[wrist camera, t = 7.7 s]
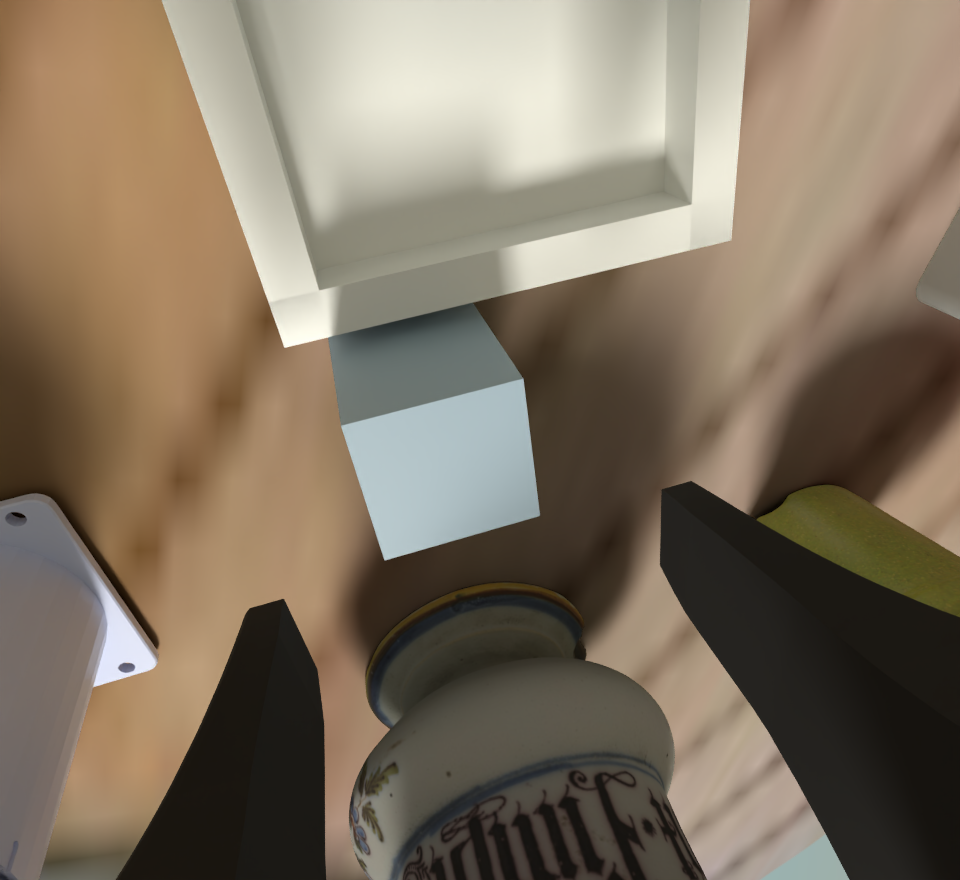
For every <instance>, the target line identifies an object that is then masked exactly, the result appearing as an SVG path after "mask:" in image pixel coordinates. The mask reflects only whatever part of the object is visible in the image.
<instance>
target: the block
mask: <svg viewBox="0 0 960 880" xmlns="http://www.w3.org/2000/svg"><path fill="white" fill-rule="evenodd" d="M328 340H329V347H330V354H331V360H332V367H333V374H334V381H335V388H336V395H337V401H338V408H339V415H340V422H341V427H342V430H343V433H344V436H345V440H346V443H347V446H348V449H349V452H350V455H351V458H352V461H353V464H354V467H355V471H356V474H357V477H358V480H359V483H360V486H361V489H362V492H363V495H364V498H365V501H366V505H367V508H368V511H369V514H370V517H371V520H372V523H373V526H374V529H375V532H376V536H377V539H378V542H379V545H380V548H381V551H382V554H383V557H384V560H389V559H392V558H395V557H399V556H402V555H406V554H409V553H413V552H416V551H420V550H423V549H427V548H430V547H434V546H437V545H441V544H444V543H448V542H451V541H455V540H458V539H462V538H465V537H468V536H472V535H475V534H479V533H482V532H486V531H489V530H493V529H496V528H500V527H503V526H507V525H510V524H514V523H517V522H521V521H524V520H528V519H531V518H535V517H538V516H540V511H539V503H538V494H537V486H536V478H535V470H534V462H533V453H532V445H531V437H530V429H529V420H528V412H527V404H526V396H525V388H524V379H523V377H522V376H521V374H520V373H519V371H518V370H517V368H516V367H515V365H514V364H513V362H512V361H511V359H510V358H509V356H508V355H507V353H506V352H505V350H504V349H503V347H502V346H501V344H500V343H499V341H498V340H497V338H496V337H495V335H494V334H493V332H492V331H491V329H490V328H489V326H488V325H487V323H486V322H485V320H484V319H483V317H482V316H481V314H480V313H479V311H478V310H477V308H476V307H475V305H474V304H473V303H469V304H465V305H460V306H456V307H452V308H448V309H444V310H440V311H435V312H431V313H427V314H423V315H419V316H415V317H410V318H406V319H402V320H398V321H394V322H390V323H386V324H381V325H377V326H373V327H369V328H365V329H361V330H356V331H352V332H348V333H344V334H340V335H336V336H331V337H328Z"/></svg>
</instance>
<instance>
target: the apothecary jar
mask: <svg viewBox="0 0 960 880" xmlns="http://www.w3.org/2000/svg"><path fill="white" fill-rule="evenodd" d="M583 628H584V621H583V618H582V617H581V615H580V613H579V612H578V610H577V609H576V608H575V607H574V606H573V605H572V604H571V603H570V602H569V601H568V600H567V599H565V598H564V597H563V596H562V595H560V594H558V593H556V592H553V591H550V590H548V589H545V588H542V587H539V586H535V585H529V584H523V583H512V582H501V583H489V584H483V585H477V586H472V587H469V588H465V589H461V590H458V591H455V592H452V593H449V594H447V595H444V596H442V597H440V598H438V599H436V600H434V601H432V602H430V603H428V604H426V605H424V606H422V607H421V608H419V609H418V610H416V611H414V612H413V613H412V614H410V615H409V616H408V617H406V618H405V619H404V620H402V621H401V622H400V623H399V624H398V625H396V626H395V627H394V628H393V629H392V630H391V631H390V632H389V633H388V635H387V636H386V637H385V638H384V639H383V640H382V642H381V643H380V644H379V646H378V648H377V649H376V651H375V653H374V655H373V657H372V660H371V662H370V665H369V667H368V670H367V674H366V694H367V699H368V702H369V705H370V707H371V709H372V711H373V713H374V714H375V715H376V717H377V718H378V719H379V720H380V721H381V722H382V723H383V724H384V725H385V726H387V727H388V728H389V729H390V730H389V732H388V733H387V734H386V735H385V736H384V737H383V738H382V740H381V741H380V742H379V743H378V745H377V746H376V747H375V748H374V749H373V751H372V752H371V753H370V755H369V756H368V758H367V759H366V761H365V763H364V765H363V767H362V769H361V771H360V773H359V775H358V777H357V779H356V782H355V785H354V788H353V792H352V796H351V801H350V810H349V826H350V836H351V841H352V845H353V849H354V852H355V855H356V857H357V860H358V862H359V864H360V866H361V867H362V869H363V870H364V872H365V874H366V875H367V876H368V878H369V879H370V880H707V879H706V877H705V875H704V872H703V870H702V868H701V866H700V865H699V863H698V861H697V859H696V857H695V855H694V853H693V851H692V849H691V847H690V845H689V843H688V841H687V839H686V837H685V835H684V833H683V831H682V829H681V827H680V825H679V822H678V820H677V818H676V816H675V813H674V811H673V809H672V807H671V804H670V802H669V800H668V798H667V794H668V791H669V788H670V784H671V781H672V776H673V771H674V762H675V750H674V742H673V737H672V733H671V730H670V727H669V724H668V722H667V719H666V717H665V715H664V713H663V712H662V710H661V708H660V707H659V705H658V704H657V703H656V701H655V700H654V699H653V698H652V696H651V695H650V694H649V693H648V692H647V691H646V690H645V689H644V688H642V687H641V686H640V685H639V684H637V683H636V682H635V681H633V680H632V679H631V678H629V677H627V676H626V675H624V674H622V673H620V672H618V671H616V670H613V669H611V668H609V667H606V666H603V665H600V664H597V663H593V662H590V661H585V659H586V649H585V648H584V647H583V646H582V645H581V642H580V640H579V639H580V637H581V635H582V630H583Z"/></svg>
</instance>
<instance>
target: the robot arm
mask: <svg viewBox="0 0 960 880" xmlns="http://www.w3.org/2000/svg"><path fill="white" fill-rule="evenodd" d="M11 512H18V513H22V514H23V515H24V516H26V518H19V517H16V516H14V515H13V514H11ZM660 566H661V568H662V570H663V572H664V574H665V576H666V578H667V580H668V582H669V583H670V585H671V587H672V589H673V591H674V593H675V595H676V597H677V598H678V600H679V602H680V604H681V606H682V607H683V609H684V611H685V613H686V614H687V615H688V617H689V618H690V620H691V621H692V623H693V624H694V626H695V627H696V628H697V630H698V631H699V633H700V634H701V636H702V637H703V638H704V640H705V641H706V643H707V644H708V646H709V647H710V648H711V650H712V651H713V653H714V654H715V655H716V657H717V658H718V660H719V661H720V662H721V664H722V665H723V667H724V668H725V670H726V671H727V672H728V674H729V675H730V677H731V678H732V679H733V681H734V682H735V684H736V685H737V686H738V688H739V689H740V691H741V692H742V693H743V695H744V696H745V698H746V699H747V700H748V702H749V703H750V705H751V706H752V707H753V709H754V710H755V712H756V713H757V715H758V717H759V718H760V720H761V721H762V723H763V724H764V726H765V727H766V729H767V730H768V732H769V734H770V735H771V737H772V739H773V741H774V742H775V744H776V746H777V748H778V749H779V751H780V753H781V754H782V756H783V758H784V760H785V761H786V763H787V765H788V767H789V768H790V770H791V772H792V774H793V775H794V777H795V779H796V780H797V782H798V784H799V786H800V788H801V790H802V791H803V793H804V795H805V797H806V799H807V801H808V802H809V804H810V806H811V808H812V810H813V811H814V813H815V815H816V817H817V819H818V821H819V822H820V824H821V826H822V828H823V830H824V831H825V833H826V835H827V837H828V839H829V841H830V843H831V845H832V847H833V848H834V851H835V853H836V854H837V856H838V858H839V860H840V862H841V864H842V866H843V868H844V870H845V872H846V874H847V876H848V878H849V879H850V880H960V617H958V616H956V615H953V614H950V613H947V612H945V611H942V610H939V609H937V608H934V607H932V606H929V605H927V604H924V603H922V602H919V601H917V600H914V599H912V598H910V597H907V596H905V595H903V594H900V593H898V592H896V591H893V590H891V589H889V588H886V587H884V586H882V585H879V584H877V583H875V582H873V581H871V580H868V579H866V578H864V577H862V576H860V575H858V574H856V573H854V572H852V571H850V570H848V569H846V568H844V567H842V566H840V565H838V564H836V563H834V562H832V561H830V560H828V559H826V558H824V557H822V556H820V555H818V554H816V553H814V552H812V551H810V550H809V549H807V548H805V547H803V546H801V545H799V544H797V543H796V542H794V541H792V540H790V539H788V538H787V537H785V536H783V535H781V534H780V533H778V532H776V531H774V530H773V529H771V528H769V527H767V526H766V525H764V524H762V523H761V522H759V521H757V520H755V519H754V518H752V517H750V516H749V515H747V514H745V513H744V512H742V511H740V510H739V509H737V508H735V507H734V506H732V505H730V504H729V503H727V502H725V501H724V500H722V499H721V498H719V497H717V496H716V495H714V494H712V493H711V492H709V491H707V490H706V489H704V488H702V487H701V486H699V485H697V484H695V483H694V482H692V481H690V482H686V483H683V484H679V485H676V486H672V487H669V488H665V489H662V495H661V544H660ZM158 656H159V654H158V651H157V649H156V648H155V647H154V645H153V644H152V642H151V641H150V639H149V638H148V636H147V635H146V633H145V632H144V631H143V629H142V628H141V626H140V625H139V623H138V622H137V620H136V619H135V617H134V616H133V614H132V613H131V612H130V610H129V609H128V607H127V606H126V604H125V603H124V601H123V600H122V598H121V597H120V596H119V594H118V593H117V591H116V590H115V588H114V587H113V585H112V584H111V582H110V581H109V579H108V578H107V577H106V575H105V574H104V572H103V571H102V569H101V568H100V566H99V565H98V563H97V562H96V561H95V559H94V558H93V556H92V555H91V553H90V552H89V550H88V549H87V547H86V546H85V544H84V543H83V542H82V540H81V539H80V537H79V536H78V534H77V533H76V531H75V530H74V528H73V527H72V526H71V524H70V523H69V521H68V520H67V518H66V517H65V515H64V514H63V512H62V511H61V509H60V508H59V507H58V505H57V504H56V502H55V501H54V500H53V499H52V498H50V497H48V496H46V495H43V494H37V493H35V494H27V495H23V496H19V497H15V498H11V499H8V500H4V501H0V880H39V877H40V873H41V870H42V866H43V863H44V859H45V856H46V852H47V849H48V845H49V842H50V838H51V835H52V831H53V827H54V824H55V820H56V817H57V813H58V810H59V806H60V803H61V799H62V796H63V792H64V788H65V785H66V781H67V778H68V774H69V771H70V767H71V764H72V760H73V757H74V753H75V749H76V746H77V742H78V739H79V735H80V732H81V728H82V725H83V721H84V718H85V714H86V710H87V707H88V703H89V700H90V696H91V693H92V689H93V687H95V686H98V685H102V684H105V683H108V682H112V681H115V680H119V679H122V678H125V677H129V676H132V675H136V674H139V673H142V672H146V671H149V670H151V669H153V668H154V667H155V666H156V665H157V662H158ZM126 662H128V663H129V664H128V663H126ZM116 880H326V866H325V754H324V719H323V710H322V702H321V694H320V686H319V678H318V671H317V668H316V666H315V663H314V661H313V659H312V657H311V655H310V653H309V651H308V649H307V647H306V644H305V642H304V640H303V638H302V636H301V634H300V632H299V630H298V628H297V625H296V623H295V621H294V619H293V617H292V615H291V613H290V611H289V609H288V606H287V604H286V602H285V600H284V599H281V600H278V601H274V602H271V603H267V604H264V605H260V606H257V607H253V608H250V609H249V610H248V611H247V613H246V614H245V617H244V619H243V622H242V625H241V628H240V630H239V633H238V636H237V638H236V641H235V644H234V646H233V649H232V652H231V654H230V657H229V659H228V662H227V664H226V667H225V669H224V672H223V674H222V677H221V679H220V682H219V684H218V686H217V689H216V691H215V693H214V695H213V698H212V700H211V702H210V704H209V707H208V709H207V711H206V714H205V716H204V718H203V720H202V723H201V725H200V727H199V729H198V731H197V734H196V736H195V738H194V740H193V742H192V744H191V746H190V748H189V750H188V752H187V754H186V756H185V758H184V760H183V762H182V764H181V766H180V768H179V770H178V772H177V774H176V776H175V778H174V780H173V782H172V784H171V786H170V788H169V790H168V791H167V793H166V795H165V797H164V799H163V801H162V803H161V804H160V806H159V808H158V810H157V812H156V813H155V815H154V817H153V819H152V821H151V822H150V824H149V826H148V828H147V829H146V831H145V833H144V834H143V836H142V838H141V840H140V841H139V843H138V845H137V846H136V848H135V850H134V851H133V853H132V855H131V856H130V858H129V860H128V861H127V863H126V864H125V866H124V868H123V869H122V871H121V872H120V874H119V875H118V877H117V879H116Z"/></svg>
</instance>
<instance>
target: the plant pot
mask: <svg viewBox="0 0 960 880" xmlns="http://www.w3.org/2000/svg"><path fill="white" fill-rule="evenodd" d="M757 521H759V522H761V523H762V524H764V525H766V526H767V527H769V528H771V529H773V530H774V531H776V532H778V533H780V534H781V535H783V536H785V537H787V538H788V539H790V540H792V541H794V542H796V543H797V544H799V545H801V546H803V547H805V548H807V549H809V550H810V551H812V552H814V553H816V554H818V555H820V556H822V557H824V558H826V559H828V560H830V561H832V562H834V563H836V564H838V565H840V566H842V567H844V568H846V569H848V570H850V571H852V572H854V573H856V574H858V575H860V576H862V577H864V578H866V579H868V580H871V581H873V582H875V583H877V584H879V585H882V586H884V587H886V588H889V589H891V590H893V591H896V592H898V593H900V594H903V595H905V596H907V597H910V598H912V599H914V600H917V601H919V602H922V603H924V604H927V605H929V606H932V607H934V608H937V609H939V610H942V611H945V612H947V613H950V614H953V615H956V616H958V617H960V557H959V556H957V555H955V554H954V553H952V552H950V551H949V550H947V549H945V548H944V547H942V546H940V545H939V544H937V543H935V542H934V541H932V540H930V539H929V538H927V537H925V536H924V535H922V534H920V533H919V532H917V531H915V530H914V529H912V528H910V527H909V526H907V525H905V524H904V523H902V522H900V521H899V520H897V519H895V518H894V517H892V516H890V515H889V514H887V513H886V512H884V511H882V510H881V509H879V508H877V507H876V506H874V505H873V504H871V503H869V502H868V501H866V500H864V499H862V498H861V497H859V496H857V495H856V494H854V493H852V492H850V491H849V490H847V489H845V488H843V487H839V486H835V485H818V486H813V487H808V488H805V489H802V490H799V491H796V492H794V493H792V494H790V495H789V496H788V497H787V498H786V500H785V501H784V503H783V504H782V505H781V506H780V507H778V508H777V509H776V510H774V511H773V512H771V513H769V514H766V515H764V516H761V517H759V518H758V519H757Z"/></svg>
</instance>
